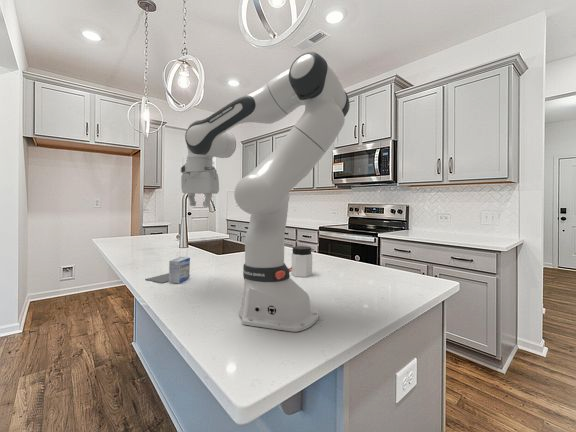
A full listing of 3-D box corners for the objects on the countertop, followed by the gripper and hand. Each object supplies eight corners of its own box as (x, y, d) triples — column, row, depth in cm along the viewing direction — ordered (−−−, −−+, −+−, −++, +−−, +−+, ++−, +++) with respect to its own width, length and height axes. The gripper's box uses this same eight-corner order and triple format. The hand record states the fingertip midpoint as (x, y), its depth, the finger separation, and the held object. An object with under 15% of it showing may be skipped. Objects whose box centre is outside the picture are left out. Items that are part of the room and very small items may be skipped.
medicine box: (178, 283, 114) (179, 261, 113) (168, 282, 115) (169, 260, 114) (189, 278, 121) (190, 257, 121) (179, 276, 122) (180, 256, 122)
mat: (190, 275, 126) (190, 274, 126) (162, 283, 114) (162, 282, 114) (173, 272, 131) (173, 271, 131) (145, 280, 119) (145, 279, 119)
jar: (300, 271, 135) (300, 245, 134) (315, 274, 130) (315, 247, 129) (287, 275, 128) (288, 247, 127) (303, 278, 123) (303, 249, 122)
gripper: (223, 166, 102) (223, 207, 102) (193, 170, 116) (193, 205, 116) (207, 165, 97) (207, 207, 98) (178, 168, 111) (178, 205, 112)
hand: (199, 206), depth 107 cm, fingers open, 8 cm apart
